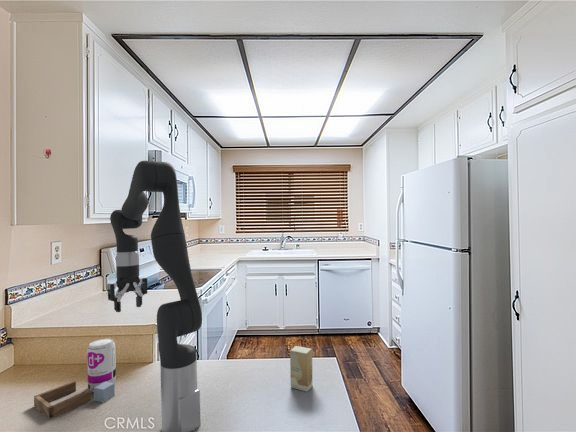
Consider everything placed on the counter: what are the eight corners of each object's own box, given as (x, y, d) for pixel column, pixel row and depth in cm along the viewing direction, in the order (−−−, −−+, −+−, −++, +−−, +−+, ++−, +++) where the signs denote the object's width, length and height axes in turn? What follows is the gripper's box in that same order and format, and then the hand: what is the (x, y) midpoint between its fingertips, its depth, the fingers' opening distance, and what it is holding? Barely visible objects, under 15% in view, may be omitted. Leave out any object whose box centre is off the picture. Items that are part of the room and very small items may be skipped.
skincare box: (290, 388, 103) (288, 349, 103) (296, 381, 106) (294, 345, 107) (308, 392, 100) (306, 353, 100) (313, 385, 103) (312, 348, 104)
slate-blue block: (114, 395, 102) (114, 383, 102) (103, 402, 98) (103, 389, 98) (105, 393, 103) (105, 381, 103) (94, 400, 99) (93, 387, 99)
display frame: (91, 400, 99) (91, 390, 99) (49, 419, 90) (49, 408, 90) (74, 389, 106) (74, 380, 106) (34, 406, 97) (34, 396, 97)
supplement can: (103, 394, 103) (102, 347, 103) (81, 392, 104) (80, 346, 105) (121, 381, 111) (120, 338, 111) (101, 380, 112) (100, 337, 113)
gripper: (113, 267, 108) (114, 315, 108) (151, 262, 120) (152, 305, 120) (102, 266, 112) (103, 312, 112) (140, 261, 124) (141, 303, 124)
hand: (128, 309), depth 116 cm, fingers open, 7 cm apart
